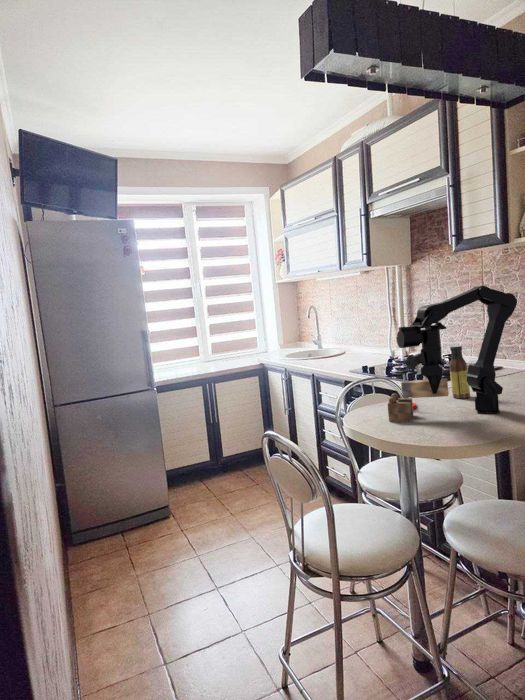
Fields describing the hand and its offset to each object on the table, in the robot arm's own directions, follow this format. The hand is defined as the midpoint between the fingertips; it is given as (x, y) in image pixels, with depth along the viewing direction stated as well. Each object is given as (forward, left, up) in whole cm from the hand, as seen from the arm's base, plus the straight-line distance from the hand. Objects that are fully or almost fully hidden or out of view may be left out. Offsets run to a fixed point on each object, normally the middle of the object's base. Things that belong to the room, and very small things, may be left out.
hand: (434, 392), depth 141 cm
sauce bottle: (-7, -31, -9) cm, 33 cm away
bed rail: (+3, 0, -1) cm, 3 cm away
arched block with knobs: (+11, 0, -9) cm, 14 cm away
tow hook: (+12, -16, -9) cm, 22 cm away
